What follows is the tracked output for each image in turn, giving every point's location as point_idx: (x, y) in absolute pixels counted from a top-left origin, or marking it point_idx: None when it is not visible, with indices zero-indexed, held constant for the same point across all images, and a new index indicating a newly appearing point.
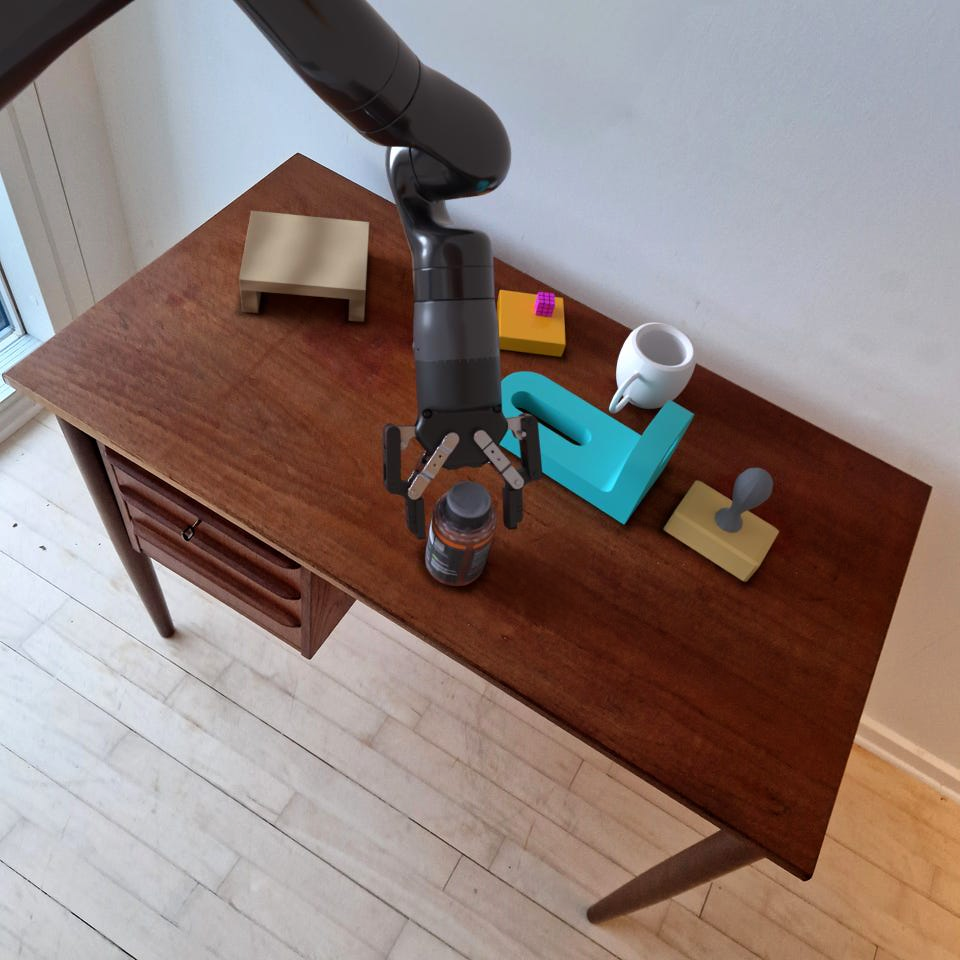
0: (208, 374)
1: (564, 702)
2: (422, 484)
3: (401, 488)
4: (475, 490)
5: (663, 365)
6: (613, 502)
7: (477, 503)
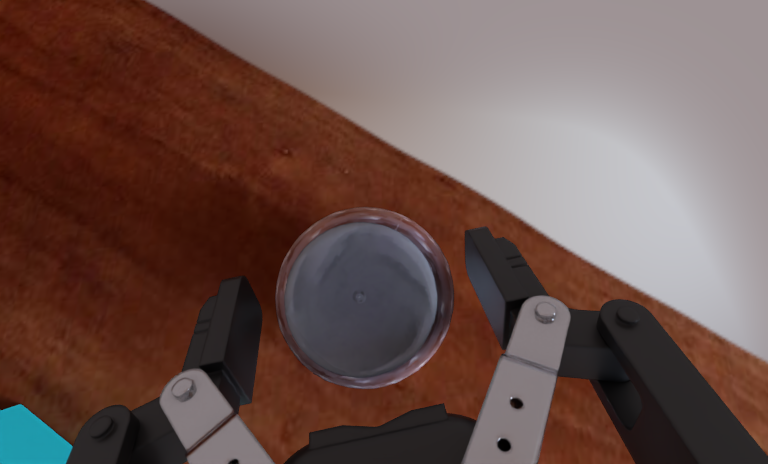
0: None
1: (199, 52)
2: (529, 339)
3: (589, 328)
4: (338, 334)
5: None
6: (10, 445)
7: (332, 278)
